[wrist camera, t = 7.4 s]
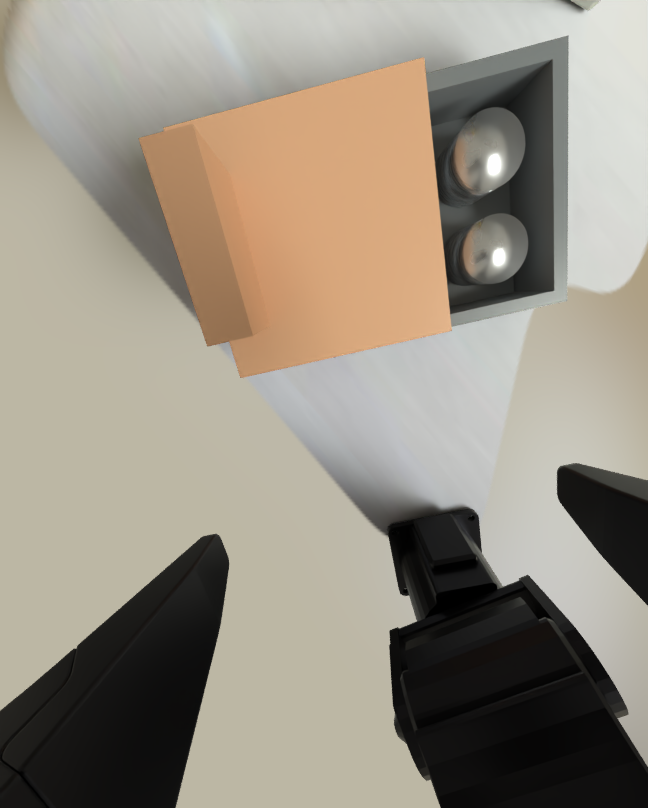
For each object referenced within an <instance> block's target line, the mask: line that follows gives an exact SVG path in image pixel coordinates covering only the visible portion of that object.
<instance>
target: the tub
mask: <svg viewBox="0 0 648 808" xmlns="http://www.w3.org/2000/svg"><path fill="white" fill-rule="evenodd" d="M426 81H427V91H428V100H429V110H430V120H431V130H432V140H433V150H434V160H435V163H436V161H437V159H438V157H439V155H440V154H441V153H442V151H443V150H444V149H445V148H446V147H447V145H448V144H449V143H450V142H451V141H452V140H453V138H454V137H455V136H456V135H457V134H458V132H459V131H460V130H461V129H462V128H463V126H464V125H465V124H466V123H467V122H468V121H469V119H470V118H472V117H473V116H474V115H475V114H477V113H478V112H480V111H482V110H484V109H487V108H492V107H499V108H504V109H506V110H508V111H510V112H512V113H513V114H514V115H515V116H516V117H517V118H518V119H519V121H520V123H521V125H522V127H523V130H524V134H525V152H524V156H523V159H522V162H521V164H520V166H519V168H518V170H517V171H516V173H515V174H514V175H513V177H512V178H511V179H510V180H509V181H507V182H506V183H505V184H503V185H502V186H500V187H499V188H497V189H495V190H494V191H492V192H490V193H489V194H487V195H486V196H484V197H482V198H481V199H479V200H478V201H476V202H474V203H473V204H471V205H469V206H466V207H462V208H455V207H450V206H448V205H446V204H445V203H443V202H442V201H441V200H440V199H439V198H438V199H439V209H440V219H441V229H442V239H443V248H444V246H445V244H446V242H447V241H448V239H449V238H450V237H451V236H452V235H453V234H454V233H455V232H457V231H459V230H461V229H463V228H465V227H467V226H469V225H471V224H473V223H475V222H477V221H479V220H481V219H483V218H485V217H487V216H490V215H493V214H498V213H504V214H509V215H512V216H514V217H515V218H517V219H518V220H519V221H520V222H521V223H522V224H523V226H524V227H525V229H526V232H527V236H528V251H527V255H526V258H525V260H524V262H523V264H522V265H521V267H520V268H519V270H518V271H517V272H516V273H515V274H514V275H513V276H511V277H510V278H508V279H507V280H505V281H502V282H499V283H495V284H484V285H472V286H460V285H457V284H454V283H453V282H451V281H450V280H449V279H448V278H447V277H446V278H447V288H448V298H449V308H450V318H451V327H453V326H457V325H462V324H466V323H470V322H475V321H479V320H484V319H488V318H493V317H497V316H502V315H506V314H511V313H515V312H519V311H524V310H528V309H533V308H537V307H541V306H546V305H551V304H555V303H559V302H564V301H567V231H568V36H565V37H561V38H557V39H554V40H550V41H546V42H543V43H539V44H535V45H531V46H528V47H524V48H520V49H516V50H513V51H509V52H505V53H501V54H498V55H494V56H490V57H487V58H483V59H479V60H475V61H472V62H468V63H464V64H460V65H457V66H453V67H449V68H446V69H442V70H438V71H434V72H431V73H427V74H426Z"/></svg>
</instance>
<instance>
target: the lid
mask: <svg viewBox="0 0 648 808" xmlns="http://www.w3.org/2000/svg"><path fill="white" fill-rule="evenodd" d="M163 129H164V131H163V132H160V133H156V134H152V135H149V136H145V137H141V138H139V141H140V144H141V147H142V150H143V153H144V156H145V159H146V162H147V165H148V168H149V171H150V175H151V178H152V181H153V184H154V187H155V190H156V193H157V196H158V199H159V202H160V205H161V208H162V211H163V214H164V217H165V220H166V223H167V226H168V229H169V232H170V235H171V238H172V241H173V244H174V247H175V250H176V253H177V256H178V259H179V262H180V265H181V268H182V271H183V274H184V277H185V280H186V283H187V286H188V289H189V292H190V295H191V298H192V301H193V305H194V308H195V311H196V314H197V317H198V320H199V323H200V326H201V329H202V332H203V335H204V338H205V341H206V344H207V346H212V345H216V344H220V343H225V342H230V346H231V349H232V352H233V355H234V359H235V362H236V365H237V368H238V371H239V375H240V378H243V377H247V376H252V375H256V374H261V373H265V372H270V371H274V370H279V369H283V368H288V367H292V366H297V365H301V364H306V363H310V362H314V361H319V360H323V359H328V358H332V357H337V356H341V355H346V354H350V353H355V352H359V351H364V350H368V349H373V348H377V347H382V346H386V345H390V344H395V343H399V342H404V341H408V340H413V339H417V338H422V337H426V336H431V335H435V334H440V333H444V332H449V331H452V328H451V318H450V308H449V298H448V288H447V278H446V268H445V258H444V249H443V239H442V229H441V219H440V209H439V199H438V189H437V179H436V170H435V160H434V150H433V140H432V130H431V120H430V110H429V100H428V91H427V81H426V71H425V61H424V57H423V58H419V59H415V60H412V61H408V62H404V63H401V64H397V65H393V66H390V67H386V68H382V69H379V70H375V71H371V72H368V73H364V74H360V75H356V76H353V77H349V78H345V79H342V80H338V81H334V82H331V83H327V84H323V85H320V86H316V87H312V88H309V89H305V90H301V91H297V92H294V93H290V94H286V95H283V96H279V97H275V98H272V99H268V100H264V101H261V102H257V103H253V104H249V105H246V106H242V107H238V108H235V109H231V110H227V111H224V112H220V113H216V114H213V115H209V116H205V117H202V118H198V119H194V120H190V121H187V122H183V123H179V124H176V125H172V126H168V127H165V128H163Z"/></svg>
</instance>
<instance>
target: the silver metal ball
mask: <svg viewBox="0 0 648 808" xmlns="http://www.w3.org/2000/svg"><path fill="white" fill-rule="evenodd" d="M524 152H525V134H524V130H523V127H522V125H521V123H520V121H519V119H518V118H517V117H516V116H515V115H514V114H513V113H512V112H510V111H508V110H506V109H504V108H499V107H492V108H487V109H484V110H482V111H480V112H478V113H477V114H475V115H474V116H473V117H472V118H470V119H469V121H468V122H467V123H466V124H465V125H464V126H463V128H462V129H461V130H460V131H459V132H458V134H457V135H456V136H455V137H454V138H453V140H452V141H451V142H450V143H449V144H448V145H447V147H446V148H445V149H444V150H443V151H442V153H441V154H440V155H439V157H438V159H437V161H436V163H435V170H436V179H437V189H438V198H439V199H440V200H441V201H442V202H443V203H445V204H446V205H448V206H450V207H455V208H462V207H466V206H469V205H471V204H473V203H474V202H476V201H478V200H479V199H481V198H482V197H484V196H486V195H487V194H489V193H490V192H492V191H494V190H495V189H497V188H499V187H500V186H502V185H503V184H505V183H506V182H507V181H509V180H510V179H511V178H512V177H513V175H514V174H515V173H516V171H517V170H518V168H519V166H520V164H521V162H522V159H523V156H524Z"/></svg>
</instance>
